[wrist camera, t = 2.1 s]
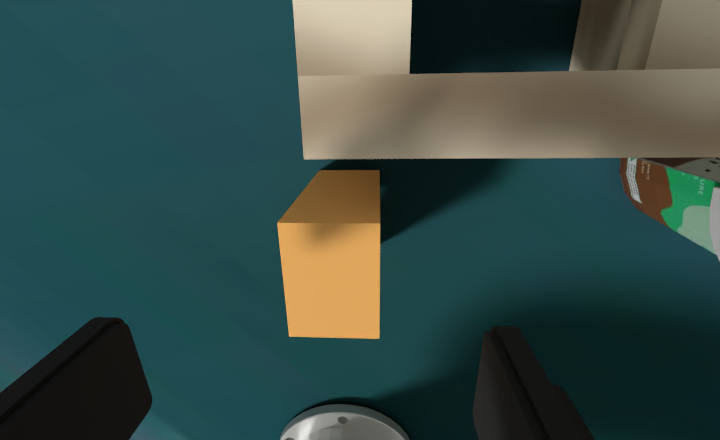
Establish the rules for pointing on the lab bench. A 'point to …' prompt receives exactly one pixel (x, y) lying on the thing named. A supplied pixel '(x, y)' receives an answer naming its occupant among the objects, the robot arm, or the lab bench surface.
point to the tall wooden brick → (333, 256)
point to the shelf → (512, 88)
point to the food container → (678, 194)
